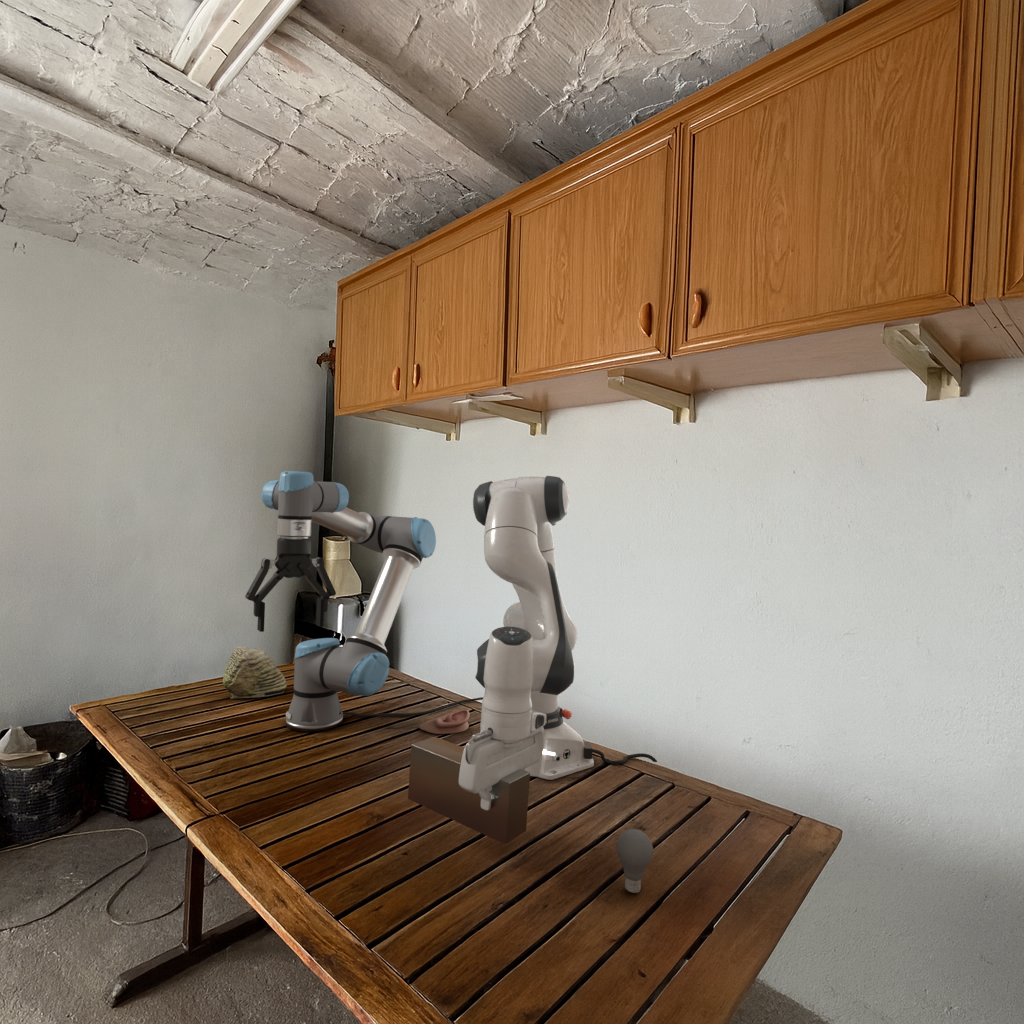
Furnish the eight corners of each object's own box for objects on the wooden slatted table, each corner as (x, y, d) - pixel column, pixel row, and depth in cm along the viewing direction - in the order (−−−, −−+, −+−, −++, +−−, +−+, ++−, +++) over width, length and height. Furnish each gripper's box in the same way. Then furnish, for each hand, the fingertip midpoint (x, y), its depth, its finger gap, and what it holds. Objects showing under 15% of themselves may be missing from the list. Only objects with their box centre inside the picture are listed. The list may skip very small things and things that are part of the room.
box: (407, 798, 120) (411, 744, 120) (430, 788, 125) (434, 736, 125) (505, 844, 106) (509, 783, 106) (526, 831, 111) (530, 772, 111)
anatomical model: (415, 716, 173) (429, 704, 184) (414, 731, 173) (428, 717, 184) (462, 722, 170) (473, 709, 181) (461, 737, 170) (472, 722, 181)
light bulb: (610, 879, 108) (613, 822, 108) (644, 879, 109) (647, 822, 109) (619, 902, 102) (622, 840, 102) (655, 901, 103) (658, 840, 103)
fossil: (218, 695, 195) (220, 647, 195) (278, 685, 208) (279, 640, 207) (228, 703, 189) (230, 653, 188) (289, 692, 201) (290, 645, 201)
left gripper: (241, 538, 137) (238, 636, 138) (351, 538, 152) (348, 626, 152) (233, 536, 143) (230, 629, 144) (339, 536, 158) (336, 621, 159)
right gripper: (482, 742, 101) (476, 829, 101) (551, 713, 117) (546, 787, 117) (452, 732, 104) (447, 815, 104) (524, 705, 121) (519, 777, 121)
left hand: (290, 628), depth 148 cm, fingers open, 13 cm apart
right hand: (500, 800), depth 111 cm, fingers closed on box, 6 cm apart
